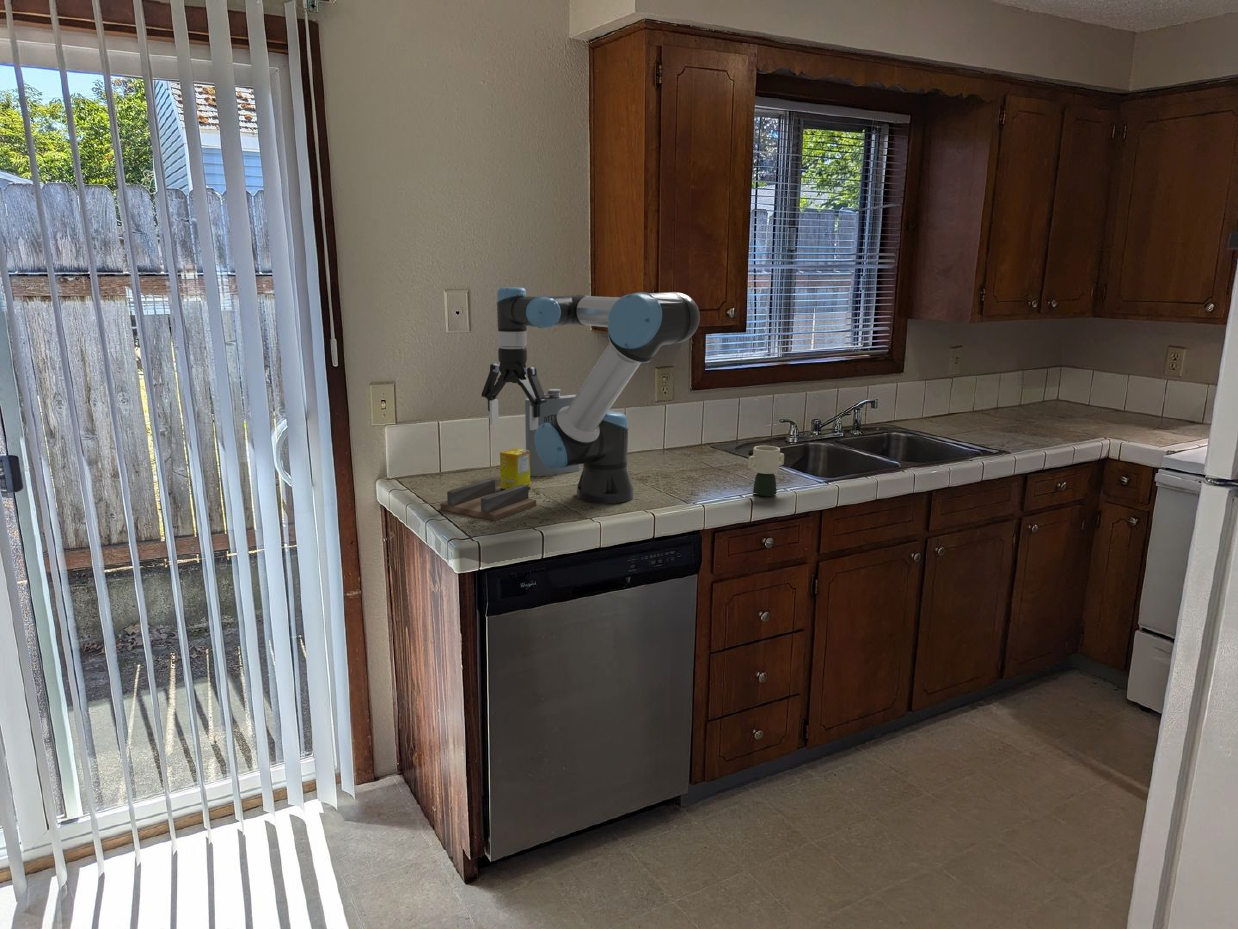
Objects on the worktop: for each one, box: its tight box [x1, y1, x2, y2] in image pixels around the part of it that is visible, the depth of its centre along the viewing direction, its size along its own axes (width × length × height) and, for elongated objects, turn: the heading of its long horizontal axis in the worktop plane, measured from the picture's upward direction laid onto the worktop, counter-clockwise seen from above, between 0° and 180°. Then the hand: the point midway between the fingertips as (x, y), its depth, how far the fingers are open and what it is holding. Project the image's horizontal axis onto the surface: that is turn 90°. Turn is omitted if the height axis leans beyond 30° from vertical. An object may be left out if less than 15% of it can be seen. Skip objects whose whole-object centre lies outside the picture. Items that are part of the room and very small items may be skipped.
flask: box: [524, 388, 582, 477], centre depth 252 cm, size 17×5×25 cm, turn 121°
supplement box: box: [499, 447, 531, 492], centre depth 234 cm, size 6×6×11 cm
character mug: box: [747, 445, 785, 497], centre depth 230 cm, size 11×7×13 cm, turn 112°
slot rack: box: [439, 478, 537, 522], centre depth 218 cm, size 18×16×5 cm
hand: (513, 426), depth 231 cm, fingers open, 13 cm apart
